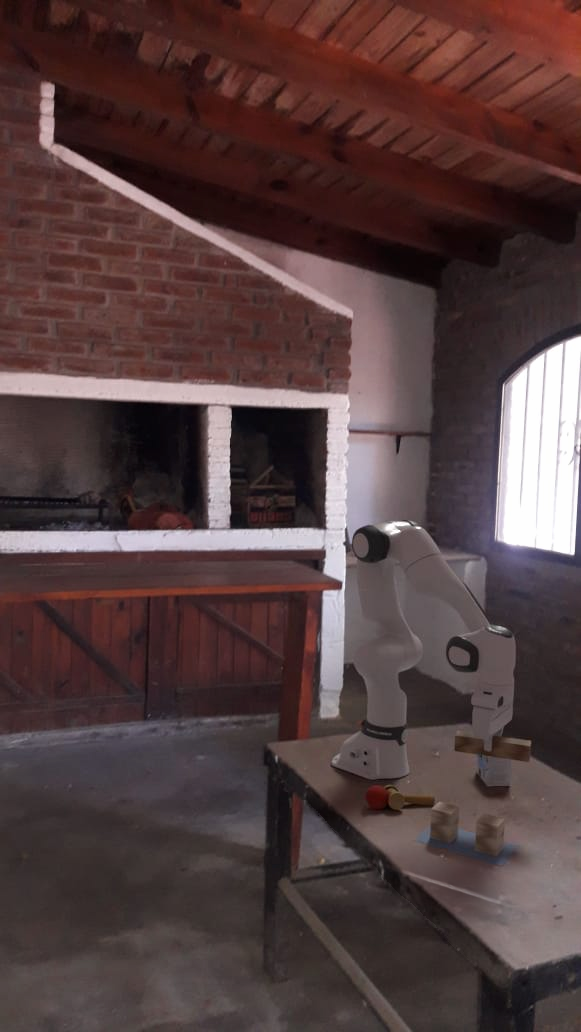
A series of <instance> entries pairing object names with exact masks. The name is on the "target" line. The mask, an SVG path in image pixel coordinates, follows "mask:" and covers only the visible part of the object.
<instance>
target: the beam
mask: <svg viewBox="0 0 581 1032" xmlns="http://www.w3.org/2000/svg"><path fill="white" fill-rule="evenodd" d="M492 743H493V749H492V750H491V751H490V752H489V751H485V750H484V741H483V739H479V738H475V737H474V735H473V732H472V731H463V730H456V732H455V735H454V749H453V750H454V752H458V753H463V754H464V753H465V754H470V755H471V754H472V755H476V756H477V755H484V756H491V757H498V758H504V759H511V761H512V760H513V761H519V762H525V763H526V762H527V763H530V762H531V761H530V760H531V754H532V753H531V750H532V749H531V748H532V740H528V739H527V740H526V739H522V738H521V739H520V738H514V737H506V736H501V737H500V736H493V738H492Z"/></svg>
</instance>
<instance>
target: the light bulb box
mask: <svg viewBox="0 0 581 1032" xmlns="http://www.w3.org/2000/svg"><path fill="white" fill-rule="evenodd" d="M511 769H512V760H511V759H504V758H498V757H491V756H484V755H477V754H476V769H475V773H476V774H477V775H478V776H479V778H480V779H481V780H482V781H483V783H484V784H485V786H486V787H493V786H511V772H512V771H511Z"/></svg>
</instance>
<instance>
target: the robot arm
mask: <svg viewBox="0 0 581 1032" xmlns="http://www.w3.org/2000/svg"><path fill="white" fill-rule="evenodd" d="M351 547H352V551H353V554H354V556H355V557H356V558H357V559H356V582H357V589H358V596H359V602H360V607H361V614H362V617H363V619H364V620H365V621H367V622H368V623H369V624H370V625H371V626H372V628H373V630H374V632H375V635H376V637H375V638H372V639H369V640H367V641H365V642H364V643H362V644H360V645H359V646H358V647H356V649H355V652H354V654H353V665H354V668H355V669H356V671H357V672H358V674H359V675H360V676H361V677H362V678H363V680H364V684H365V687H366V694H367V711H366V712H367V714H366V717H365V718H364V719H362V720H361V721H359V722H358V727H359V728H360V727H361V730H359V731H358V732H356V733H355V734H353V735H351V736H350V737H348V738H347V739H346V740H345V741H343V743H342V745H341V747H340V751H339V752H340V753H338V754H336V755H334V756H333V758H332V760H331V766H333V767H335V768H338V769H341V770H344V771H346V772H349V773H351V774H354V775H357V776H360V777H363V778H365V779H366V780H367V779H368V780H372V781H373V780H379V779H380V780H381V779H399V778H402V777H405V776H407V775H409V773H410V771H411V770H410V767H409V763H408V757H407V745H406V744H407V741H408V740H407V738H408V722H407V705H408V703H407V702H408V701H407V700H408V698H407V694H406V692H404V690H403V689H401V687H400V683H399V682H400V681H399V673H401V672H404V671H406V670H407V671H408V670H410V669H412V668H413V667H415V665H417V664H418V663H419V662H420V661H421V660H422V658H423V655H424V646H423V643H422V641H421V640H420V637H418V636H417V635H416V634H415V633H413V632H412V630H411V628H410V627H409V624H408V622H407V621H406V619H405V617H404V613H403V610H402V606H401V601H400V595H399V592H398V585H397V581H396V575H395V565H396V563H398V562H399V564H400V565H401V568H402V570H403V572H404V574H405V576H406V579H407V580H408V583H409V585H411V588H413V589H414V591H415V592H416V593H417V594H418V595H420V596H422V597H425V598H428V599H432V600H436V601H438V602H441V603H444V604H446V605H449V606H450V607H452V609H454V610H455V611H456V613H457V614H458V616H459V617H460V619H461V620H462V622H463V623H464V625H465V626H466V628H467V629H468V630H469V631H468V633H462V634H461V633H460V634H459V635H455V636H453V637H451V638H450V639H448V642H447V644H446V647H445V656H446V660H447V663H448V665H449V666H450V667H451V669H453V670H454V671H456V672H457V673H458V672H459V673H474V674H476V675H477V683H476V684H477V685H476V688H475V690H474V692H473V694H472V696H471V699H470V701H471V702H470V704H471V705H472V706H473V708H472V714H471V715H472V717H471V721H472V725H471V726H472V727H471V728H472V729H471V730H472V731H471V732H472V733H473V735H474V737H475V738H479V739H483V741H484V750H485V751H489V752H490V751H491V750H492V749H493V743H492V738H493V736H500V737H502V735H503V731H504V727H505V725H507V724H508V723H509V722H510V721H512V719H513V714H514V712H513V711H514V710H513V709H514V708H513V707H514V697H515V696H514V694H515V677H514V670H515V667H516V657H517V655H516V653H517V650H516V648H517V647H516V646H517V645H516V640H515V636H514V634H513V632H512V631H511V630H510V629H508V628H506V627H504V626H501V625H496V624H494V623H493V621H492V620H491V619H490V618H489V616H488V614H487V613H486V611H485V610H484V609H483V607H482V606H481V604H480V603H479V601H478V600H477V598H476V597H475V595H474V594H473V592H472V591H471V589H470V588H469V587H468V585H467V584H466V583H465V582H464V581H463V580H462V579H461V578H459V576H458V575H457V574H456V573H455V572H454V571H453V570H452V568H451V567H450V566H449V564H448V562H447V561H446V559H445V557H444V555H443V554H442V552H441V550H440V549H439V546H438V545H437V543H436V542H435V541H434V539H433V537H431V535H430V534H429V533H428V531H426V529H425V528H424V527H421V525H420V524H419V523H417V522H415V521H412V520H407V519H403V520H389V521H388V520H386V521H383V522H378V523H375V524H367V525H364V526H362V527H359V528H357V529H356V530H355V532H354V533H353V535H352V537H351Z"/></svg>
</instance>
